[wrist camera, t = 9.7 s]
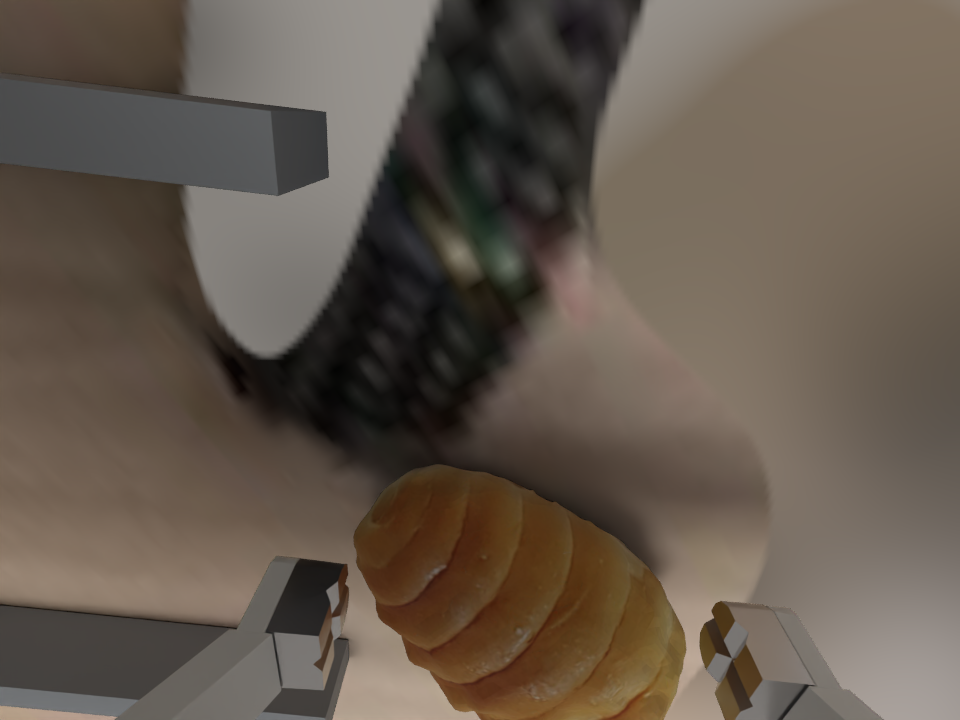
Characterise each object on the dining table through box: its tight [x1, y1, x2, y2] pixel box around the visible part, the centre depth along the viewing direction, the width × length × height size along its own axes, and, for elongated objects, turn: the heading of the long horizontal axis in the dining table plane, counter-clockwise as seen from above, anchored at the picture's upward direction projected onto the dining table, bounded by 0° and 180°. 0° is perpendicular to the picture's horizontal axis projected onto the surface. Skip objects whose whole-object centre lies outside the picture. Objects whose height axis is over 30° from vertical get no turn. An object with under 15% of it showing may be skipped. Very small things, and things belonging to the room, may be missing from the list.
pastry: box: [354, 464, 686, 720], centre depth 13 cm, size 9×7×4 cm
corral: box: [0, 73, 349, 720], centre depth 12 cm, size 18×16×2 cm
